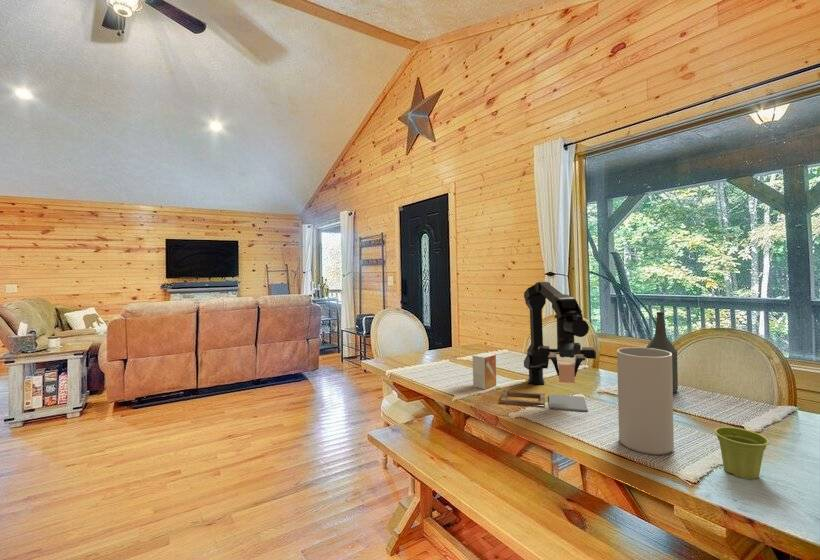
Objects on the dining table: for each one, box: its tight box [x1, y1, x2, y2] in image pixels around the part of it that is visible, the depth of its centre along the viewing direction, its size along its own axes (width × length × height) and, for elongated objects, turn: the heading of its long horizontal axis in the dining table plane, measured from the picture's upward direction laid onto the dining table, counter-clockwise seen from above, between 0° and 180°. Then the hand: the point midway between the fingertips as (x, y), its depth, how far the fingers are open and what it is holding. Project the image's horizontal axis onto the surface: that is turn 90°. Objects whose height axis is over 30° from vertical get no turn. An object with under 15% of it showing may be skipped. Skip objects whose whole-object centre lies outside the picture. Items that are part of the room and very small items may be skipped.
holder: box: [500, 390, 546, 407], centre depth 142 cm, size 11×15×1 cm
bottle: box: [645, 311, 679, 393], centre depth 148 cm, size 10×10×30 cm
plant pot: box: [714, 426, 770, 480], centre depth 88 cm, size 9×9×9 cm
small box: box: [472, 352, 497, 390], centre depth 160 cm, size 8×6×13 cm
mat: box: [548, 394, 589, 413], centre depth 137 cm, size 14×12×1 cm
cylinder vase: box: [616, 347, 675, 455], centre depth 103 cm, size 12×12×25 cm
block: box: [557, 361, 576, 384], centre depth 136 cm, size 5×5×6 cm
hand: (566, 376), depth 136 cm, fingers closed on block, 5 cm apart
